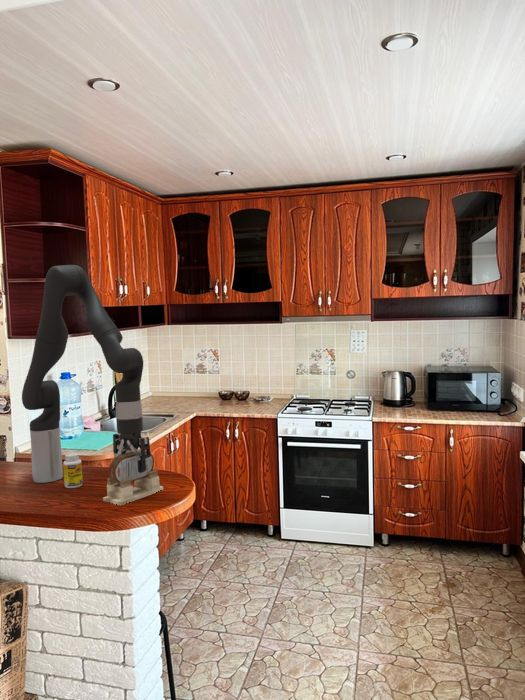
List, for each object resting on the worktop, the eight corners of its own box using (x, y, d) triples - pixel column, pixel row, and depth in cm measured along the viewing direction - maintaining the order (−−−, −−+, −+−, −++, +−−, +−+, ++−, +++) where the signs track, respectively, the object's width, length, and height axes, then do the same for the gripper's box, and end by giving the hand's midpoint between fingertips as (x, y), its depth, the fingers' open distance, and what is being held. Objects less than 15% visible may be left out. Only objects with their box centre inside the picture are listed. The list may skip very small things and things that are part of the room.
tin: (150, 473, 164) (148, 446, 163) (156, 474, 162) (155, 447, 161) (108, 486, 152) (106, 457, 152) (115, 488, 150) (113, 459, 150)
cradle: (103, 500, 154) (101, 479, 153) (146, 485, 166) (145, 466, 166) (120, 505, 149) (119, 483, 148) (163, 489, 161) (162, 469, 161)
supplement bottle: (67, 490, 166) (64, 457, 165) (62, 485, 170) (60, 454, 170) (85, 486, 169) (83, 454, 168) (80, 482, 173) (78, 451, 173)
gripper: (103, 416, 157) (107, 470, 158) (134, 420, 149) (138, 476, 150) (124, 412, 163) (127, 464, 164) (155, 415, 155) (158, 470, 156)
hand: (132, 470), depth 157 cm, fingers open, 8 cm apart
